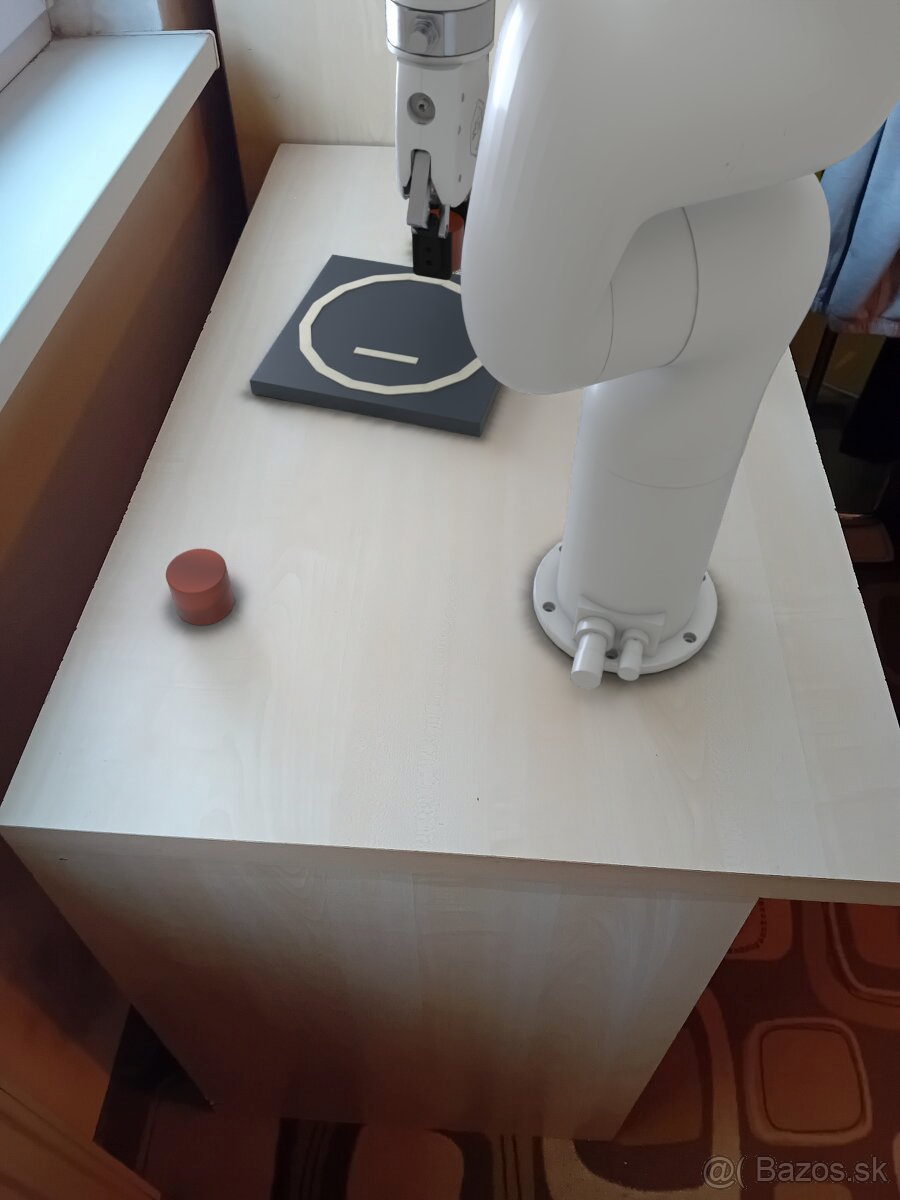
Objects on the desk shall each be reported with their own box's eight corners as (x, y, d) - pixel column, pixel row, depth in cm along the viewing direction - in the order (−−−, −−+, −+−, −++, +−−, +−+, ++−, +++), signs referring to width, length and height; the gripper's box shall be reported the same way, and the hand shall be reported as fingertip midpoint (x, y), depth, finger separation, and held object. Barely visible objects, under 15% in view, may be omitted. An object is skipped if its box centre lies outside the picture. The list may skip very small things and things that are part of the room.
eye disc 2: (455, 277, 79) (456, 238, 76) (409, 270, 80) (408, 230, 77) (468, 251, 81) (469, 213, 79) (423, 244, 82) (422, 205, 79)
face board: (480, 437, 78) (480, 422, 77) (251, 394, 82) (248, 378, 81) (534, 300, 90) (535, 285, 89) (333, 267, 94) (332, 252, 93)
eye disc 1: (220, 631, 66) (210, 598, 63) (166, 618, 66) (154, 585, 64) (244, 587, 68) (235, 554, 66) (192, 576, 69) (181, 542, 66)
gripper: (460, 78, 61) (457, 326, 75) (521, -19, 71) (508, 216, 85) (347, 64, 62) (365, 310, 76) (423, -30, 72) (426, 203, 86)
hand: (440, 258), depth 80 cm, fingers closed on eye disc 2, 4 cm apart
